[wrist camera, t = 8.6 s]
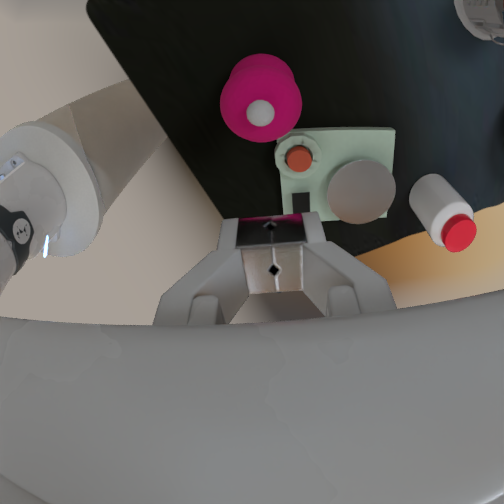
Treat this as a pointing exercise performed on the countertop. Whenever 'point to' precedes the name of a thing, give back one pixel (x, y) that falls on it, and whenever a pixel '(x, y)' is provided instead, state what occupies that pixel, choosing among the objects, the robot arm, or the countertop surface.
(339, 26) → the countertop surface
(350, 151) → the scale
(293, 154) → the button
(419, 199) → the pill bottle
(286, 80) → the pepper mill
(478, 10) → the french press
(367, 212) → the scale top
